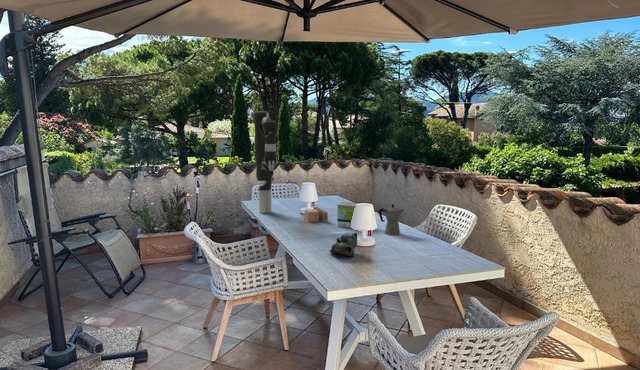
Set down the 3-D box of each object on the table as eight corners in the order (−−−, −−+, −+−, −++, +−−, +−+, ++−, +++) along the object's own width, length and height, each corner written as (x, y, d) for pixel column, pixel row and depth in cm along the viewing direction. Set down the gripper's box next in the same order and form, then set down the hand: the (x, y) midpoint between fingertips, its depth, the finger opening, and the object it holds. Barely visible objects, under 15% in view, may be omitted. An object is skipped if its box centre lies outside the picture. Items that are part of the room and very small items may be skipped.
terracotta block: (304, 219, 298) (304, 210, 297) (315, 219, 301) (315, 209, 300) (308, 222, 291) (307, 212, 290) (319, 221, 294) (319, 211, 293)
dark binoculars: (326, 251, 225) (335, 227, 228) (347, 260, 226) (356, 235, 229) (333, 252, 210) (342, 225, 213) (355, 260, 212) (364, 234, 215)
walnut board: (313, 216, 307) (313, 207, 306) (317, 216, 308) (317, 207, 307) (323, 223, 289) (323, 212, 288) (327, 222, 290) (327, 212, 289)
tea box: (337, 226, 278) (337, 204, 276) (342, 223, 288) (342, 201, 286) (359, 228, 273) (359, 206, 271) (363, 225, 282) (363, 203, 280)
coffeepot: (401, 231, 266) (402, 202, 264) (404, 235, 257) (405, 205, 254) (376, 231, 266) (377, 203, 263) (379, 235, 256) (379, 206, 254)
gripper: (278, 150, 295) (279, 174, 298) (259, 150, 291) (260, 175, 293) (281, 150, 288) (282, 176, 291) (262, 151, 284) (262, 177, 286)
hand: (271, 176), depth 292 cm, fingers closed
